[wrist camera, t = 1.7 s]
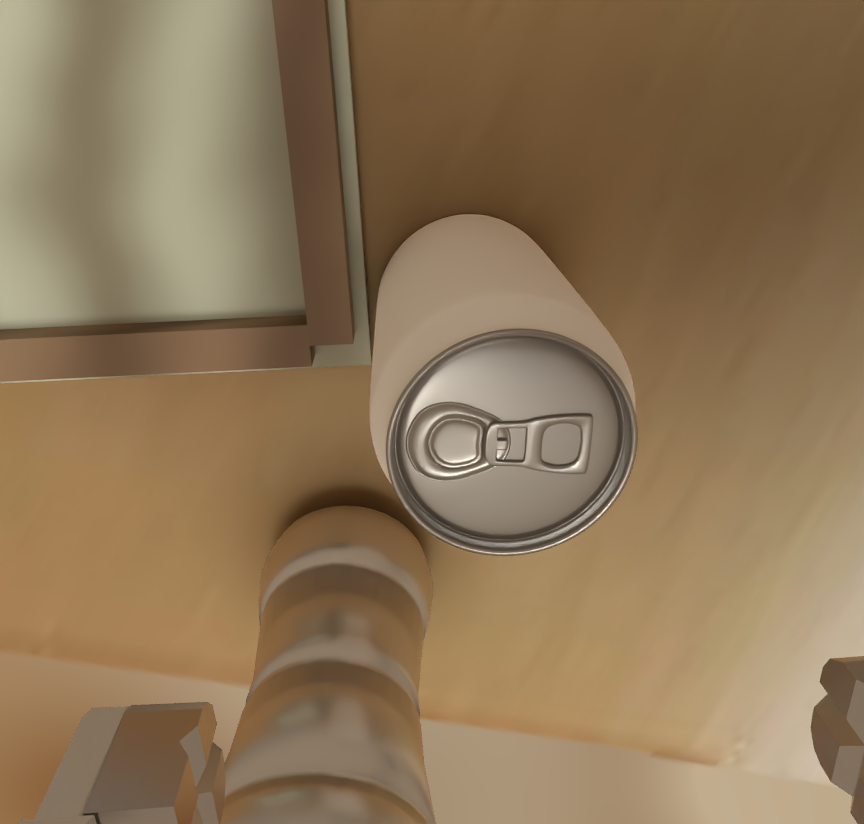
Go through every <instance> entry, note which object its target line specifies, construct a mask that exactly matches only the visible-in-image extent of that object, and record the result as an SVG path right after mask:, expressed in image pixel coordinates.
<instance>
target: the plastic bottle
mask: <svg viewBox="0 0 864 824" xmlns="http://www.w3.org/2000/svg"><path fill="white" fill-rule="evenodd" d="M432 599H433V582H432V577H431V573H430V569H429V566H428V563H427V560H426V557H425V554H424V552H423V550H422V548H421V546H420V544H419V542H418V540H417V539H416V538H415V536H414V535H413V534H412V533H411V531H410V530H409V529H408V528H406V527H405V526H404V525H403V524H402V523H400V522H399V521H398V520H396V519H394V518H392V517H391V516H389V515H387V514H385V513H382V512H379V511H377V510H374V509H371V508H365V507H360V506H333V507H327V508H322V509H319V510H316V511H313V512H310V513H308V514H307V515H305V516H303V517H301V518H299V519H298V520H296V521H295V522H294V523H293V524H292V525H290V526H289V527H288V528H287V529H286V530H285V531H284V533H283V534H282V535H281V537H280V538H279V539H278V541H277V543H276V544H275V546H274V547H273V549H272V551H271V552H270V554H269V556H268V557H267V560H266V562H265V564H264V567H263V569H262V575H261V581H260V592H259V619H260V632H259V639H258V647H257V654H256V661H255V669H254V676H253V681H252V684H251V687H250V690H249V693H248V696H247V699H246V705H245V707H244V710H243V712H242V714H241V718H240V721H239V724H238V727H237V730H236V733H235V736H234V739H233V743H232V746H231V749H230V752H229V754H228V756H227V758H226V761H225V779H226V785H225V798H224V808H223V813H222V818H221V823H220V824H436V822H435V817H434V811H433V806H432V801H431V796H430V791H429V786H428V781H427V776H426V771H425V766H424V756H423V745H422V733H421V723H420V709H419V698H418V691H419V680H420V668H421V657H422V646H423V640H424V636H425V633H426V629H427V626H428V622H429V618H430V612H431V605H432Z"/></svg>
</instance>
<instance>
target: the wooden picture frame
mask: <svg viewBox="0 0 864 824" xmlns="http://www.w3.org/2000/svg"><path fill="white" fill-rule="evenodd" d="M371 364H372V349H371V335H370V322H369V308H368V295H367V281H366V267H365V254H364V240H363V227H362V213H361V200H360V186H359V173H358V159H357V146H356V132H355V118H354V105H353V91H352V78H351V64H350V51H349V37H348V24H347V10H346V0H0V383H15V382H35V381H55V380H76V379H96V378H117V377H137V376H157V375H178V374H198V373H219V372H239V371H259V370H280V369H300V368H321V367H341V366H361V365H371Z"/></svg>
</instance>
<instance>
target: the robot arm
mask: <svg viewBox="0 0 864 824" xmlns="http://www.w3.org/2000/svg"><path fill="white" fill-rule="evenodd" d="M820 683H821V684H822V686H823V687H824V689H825V690H826V691H827V693H828V694H827V695H826V696H825V697H824V698H823V699H822V700H821V701H820V702H819V703H818V704H817V705H816V706H815V707H814V710H813V716H812V722H811V732H812V739H813V745H814V749H815V752H816V754H817V757H818V759H819V762H820V764H821V766H822V768H823V770H824V771H825V773H826V774H827V776H828V778H829V779H830V781H831V782H832V783H833V784H835V785H836V786H838V787H839V788H841V789H842V790H844V791H845V792H847V793H848V794H850V795H851V796H852V804H851V814H852V816H853V817H854V818H855V820H856V822H857V823H858V824H864V656H858V657H845V658H833V659H829V660H828V662H827V663H826V664H825V665H824V667H823V670H822V674H821V678H820ZM216 725H217V722H216V718H215V714H214V710H213V706H212V704H210V703H208V702H197V703H173V704H151V705H132V706H128V707H101V708H91V709H90V710H89V711H88V712H87V713H86V714H85V715H84V716H83V717H82V719H81V721H80V723H79V725H78V727H77V729H76V732H75V734H74V736H73V738H72V740H71V742H70V744H69V746H68V748H67V751H66V752H65V755H64V757H63V759H62V761H61V763H60V765H59V767H58V769H57V771H56V774H55V775H54V778H53V780H52V782H51V784H50V786H49V788H48V790H47V793H46V794H45V797H44V798H43V800H42V803H41V805H40V807H39V809H38V811H37V813H36V815H35V817H34V819H30V820H21V821H20V822H18V823H17V824H220V823H221V818H222V813H223V808H224V798H225V785H226V779H225V763H224V758H223V752H222V749H221V748H219V747H218V746H217V745H216V744H215V743H213V742H212V741H213V737H214V733H215V729H216Z"/></svg>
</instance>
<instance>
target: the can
mask: <svg viewBox="0 0 864 824" xmlns="http://www.w3.org/2000/svg"><path fill="white" fill-rule="evenodd" d="M370 429H371V435H372V441H373V445H374V449H375V453H376V456H377V458H378V461H379V463H380V466H381V468H382V470H383V472H384V473H385V475H386V477H387V478H388V480H389V482H390V483H391V484H392V486H393V488H394V491H395V493H396V495H397V497H398V498H399V500H400V502H401V504H402V505H403V507H404V508H405V509H406V511H407V512H408V513H409V514H410V516H411V517H412V518H413V519H414V520H415V521H416V522H417V523H418V524H419V525H420V526H421V527H423V528H424V529H425V530H426V531H428V532H429V533H430V534H432V535H433V536H435V537H436V538H438V539H440V540H442V541H444V542H445V543H448V544H450V545H452V546H454V547H457V548H460V549H463V550H466V551H469V552H474V553H478V554H484V555H493V556H514V555H523V554H529V553H534V552H539V551H542V550H546V549H549V548H552V547H554V546H557V545H559V544H562V543H564V542H566V541H568V540H570V539H572V538H574V537H575V536H577V535H579V534H580V533H582V532H583V531H585V530H586V529H588V528H589V527H590V526H592V525H593V524H594V523H595V522H596V521H597V520H599V519H600V518H601V517H602V516H603V515H604V514H605V513H606V512H607V511H608V509H609V508H610V507H611V506H612V505H613V503H614V502H615V501H616V499H617V498H618V497H619V495H620V493H621V492H622V490H623V488H624V487H625V485H626V483H627V481H628V478H629V476H630V474H631V471H632V468H633V465H634V461H635V457H636V451H637V442H638V428H637V419H636V414H635V392H634V386H633V381H632V377H631V374H630V371H629V368H628V366H627V363H626V361H625V359H624V356H623V354H622V352H621V350H620V349H619V347H618V345H617V344H616V342H615V341H614V339H613V338H612V336H611V335H610V333H609V332H608V331H607V329H606V328H605V327H604V325H603V324H602V323H601V321H600V320H599V319H598V318H597V316H596V315H595V314H594V312H593V311H592V310H591V309H590V308H589V306H588V305H587V304H586V303H585V301H584V300H583V299H582V298H581V296H580V295H579V294H578V293H577V291H576V290H575V289H574V288H573V287H572V285H571V284H570V283H569V282H568V280H567V279H566V278H565V277H564V276H563V274H562V273H561V272H560V271H559V270H558V268H557V267H556V266H555V265H554V263H553V262H552V261H551V260H550V259H549V258H548V256H547V255H546V254H545V253H544V252H543V250H542V249H541V248H540V247H539V246H538V245H537V244H536V243H535V242H534V241H533V240H532V239H531V238H530V237H529V236H528V235H527V234H525V233H524V232H523V231H521V230H520V229H518V228H517V227H515V226H513V225H512V224H510V223H508V222H505V221H503V220H500V219H498V218H494V217H490V216H485V215H478V214H462V215H455V216H449V217H446V218H442V219H439V220H436V221H434V222H432V223H430V224H428V225H426V226H424V227H422V228H421V229H419V230H418V231H416V232H415V233H414V234H412V235H411V236H410V237H409V238H408V239H406V240H405V241H404V242H403V243H402V245H401V246H400V247H399V248H398V249H397V251H396V252H395V253H394V255H393V256H392V258H391V260H390V261H389V263H388V265H387V267H386V269H385V271H384V273H383V276H382V279H381V282H380V286H379V292H378V300H377V310H376V321H375V334H374V347H373V360H372V374H371V389H370Z"/></svg>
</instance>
